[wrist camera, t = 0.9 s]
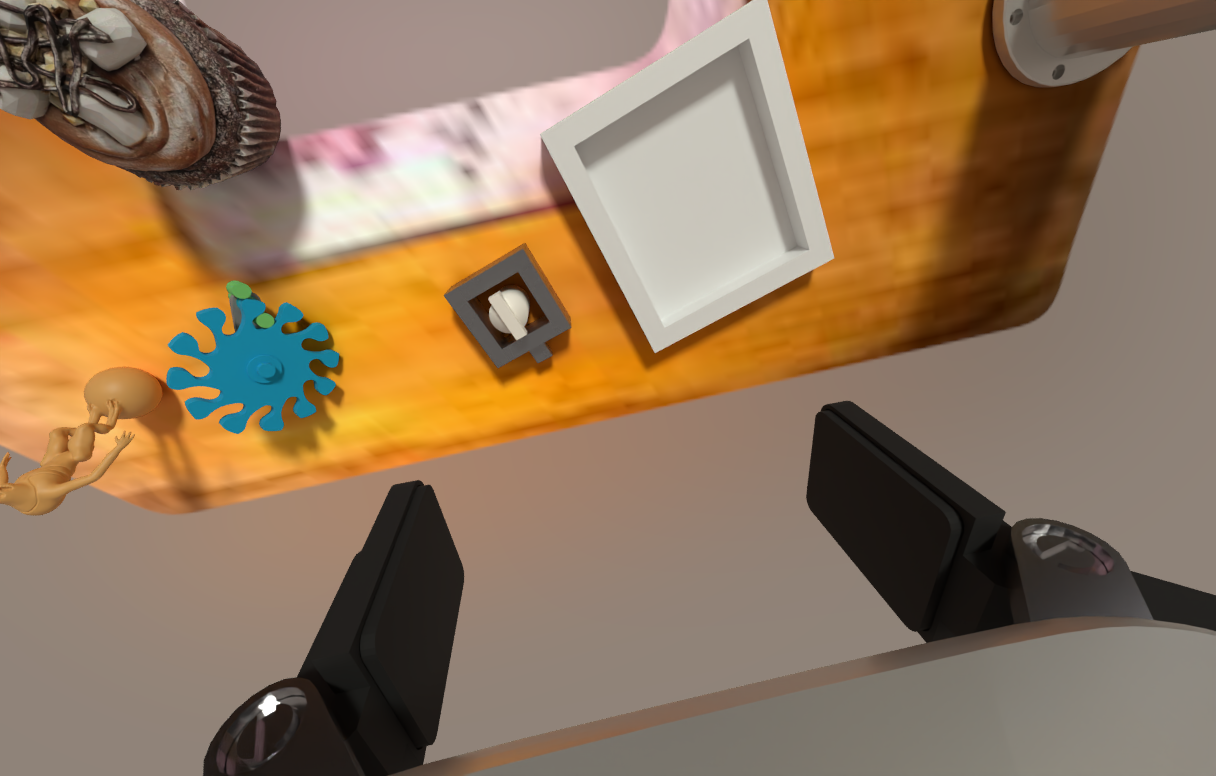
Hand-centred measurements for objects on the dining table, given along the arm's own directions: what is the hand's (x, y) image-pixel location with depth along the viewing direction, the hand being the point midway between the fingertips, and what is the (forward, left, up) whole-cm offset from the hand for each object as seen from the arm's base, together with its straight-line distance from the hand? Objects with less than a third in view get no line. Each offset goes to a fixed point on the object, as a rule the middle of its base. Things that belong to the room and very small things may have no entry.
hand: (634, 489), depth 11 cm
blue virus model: (+23, -6, -27) cm, 36 cm away
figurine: (+35, -8, -27) cm, 45 cm away
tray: (-10, 0, -27) cm, 28 cm away
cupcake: (+15, -20, -27) cm, 37 cm away
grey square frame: (+6, 0, -27) cm, 28 cm away
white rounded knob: (+6, 0, -27) cm, 28 cm away
